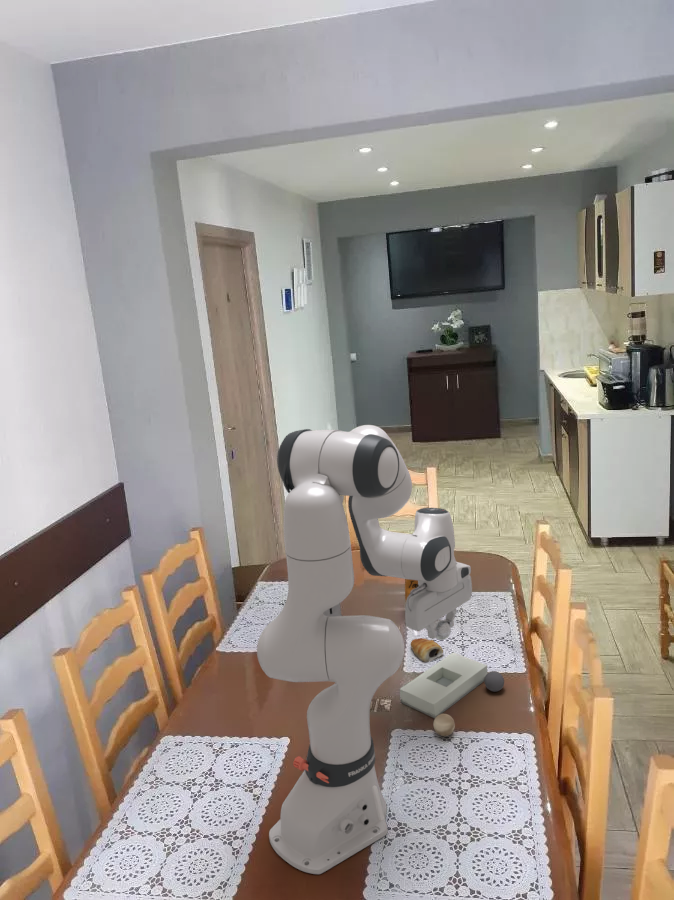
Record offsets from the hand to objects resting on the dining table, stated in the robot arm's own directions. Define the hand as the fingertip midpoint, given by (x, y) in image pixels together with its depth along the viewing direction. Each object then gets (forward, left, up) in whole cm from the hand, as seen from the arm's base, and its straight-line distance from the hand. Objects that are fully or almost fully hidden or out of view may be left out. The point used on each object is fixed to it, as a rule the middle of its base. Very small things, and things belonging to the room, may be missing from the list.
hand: (441, 632), depth 165 cm
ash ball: (-13, -10, -13) cm, 21 cm away
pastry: (+10, +14, -15) cm, 23 cm away
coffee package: (+26, +28, -15) cm, 41 cm away
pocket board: (0, 0, -15) cm, 15 cm away
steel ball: (0, 0, +1) cm, 1 cm away
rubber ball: (+7, -9, -13) cm, 17 cm away
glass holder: (+6, +47, -15) cm, 50 cm away
